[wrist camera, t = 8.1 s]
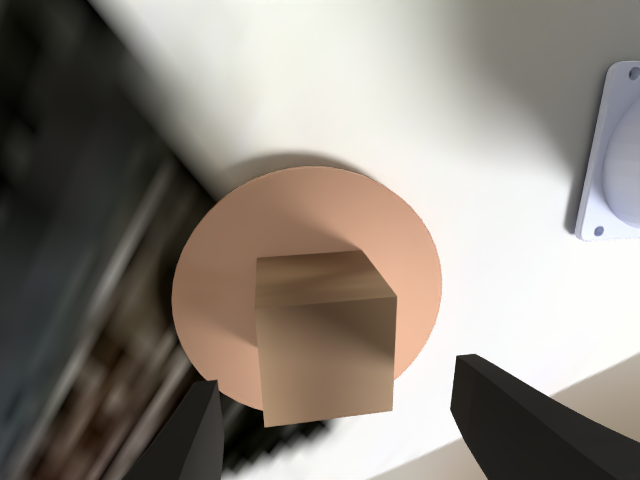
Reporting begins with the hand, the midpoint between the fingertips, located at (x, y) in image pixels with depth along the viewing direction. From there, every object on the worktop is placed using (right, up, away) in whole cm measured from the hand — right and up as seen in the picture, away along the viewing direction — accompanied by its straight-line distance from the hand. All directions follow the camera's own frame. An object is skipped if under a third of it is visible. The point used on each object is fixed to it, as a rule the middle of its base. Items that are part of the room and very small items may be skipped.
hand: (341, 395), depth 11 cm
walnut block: (-1, +2, +5) cm, 6 cm away
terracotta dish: (-1, +2, +6) cm, 7 cm away
